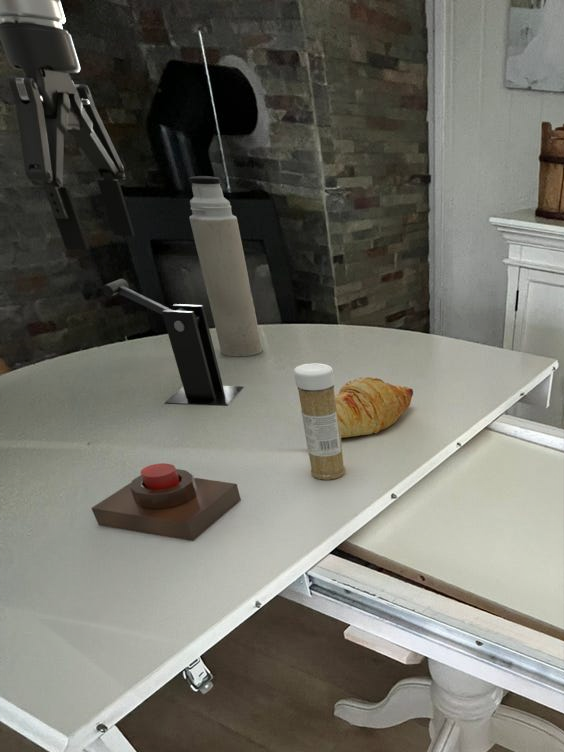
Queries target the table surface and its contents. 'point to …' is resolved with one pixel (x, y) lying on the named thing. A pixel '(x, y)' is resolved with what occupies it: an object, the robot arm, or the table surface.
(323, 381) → the spice jar
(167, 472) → the button
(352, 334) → the table surface
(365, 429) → the croissant
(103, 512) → the button block
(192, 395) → the bracket
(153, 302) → the lever
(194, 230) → the thermos bottle
